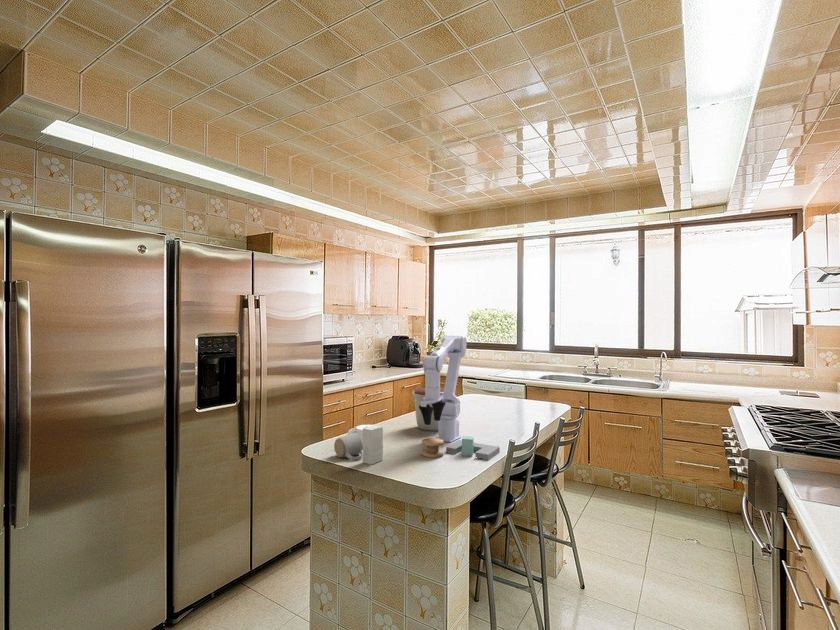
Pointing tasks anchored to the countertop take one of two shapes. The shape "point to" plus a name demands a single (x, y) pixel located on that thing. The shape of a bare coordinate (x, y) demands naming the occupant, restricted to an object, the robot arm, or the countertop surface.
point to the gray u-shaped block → (475, 449)
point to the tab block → (467, 445)
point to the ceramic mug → (349, 446)
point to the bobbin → (432, 447)
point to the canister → (418, 397)
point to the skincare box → (372, 444)
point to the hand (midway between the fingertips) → (432, 422)
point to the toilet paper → (359, 431)
